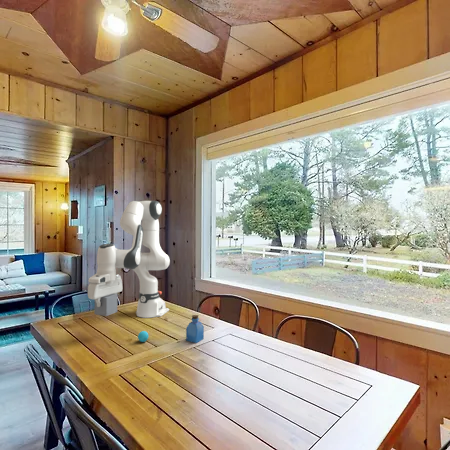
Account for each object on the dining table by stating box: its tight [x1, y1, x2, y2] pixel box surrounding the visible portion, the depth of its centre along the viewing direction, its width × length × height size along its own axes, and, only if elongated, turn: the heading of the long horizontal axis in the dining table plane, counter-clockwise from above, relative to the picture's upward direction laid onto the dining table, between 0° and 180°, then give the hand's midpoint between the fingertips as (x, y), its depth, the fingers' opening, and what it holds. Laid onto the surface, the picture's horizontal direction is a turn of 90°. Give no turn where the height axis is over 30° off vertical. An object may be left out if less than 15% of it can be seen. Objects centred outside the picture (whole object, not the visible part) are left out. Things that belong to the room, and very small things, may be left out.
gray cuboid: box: [94, 293, 118, 317], centre depth 151 cm, size 8×8×9 cm
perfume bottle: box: [185, 314, 205, 344], centre depth 151 cm, size 6×6×12 cm
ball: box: [137, 330, 149, 343], centre depth 148 cm, size 5×5×5 cm
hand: (106, 304), depth 151 cm, fingers closed on gray cuboid, 7 cm apart
